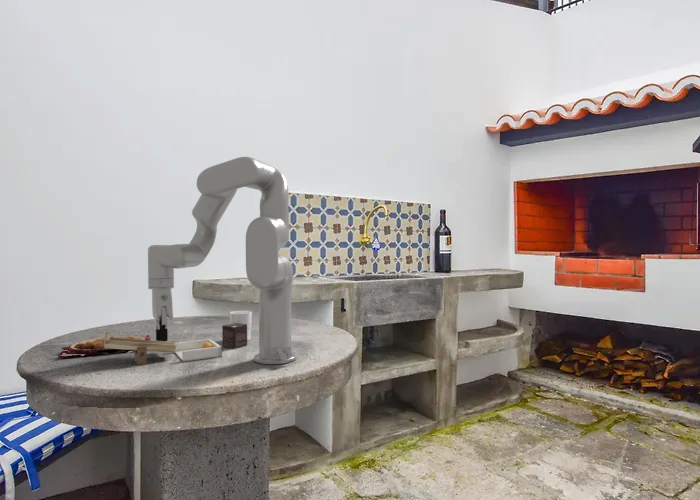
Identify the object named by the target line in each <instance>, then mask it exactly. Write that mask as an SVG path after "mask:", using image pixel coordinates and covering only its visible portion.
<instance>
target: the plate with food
mask: <svg viewBox="0 0 700 500" xmlns="http://www.w3.org/2000/svg"><path fill="white" fill-rule="evenodd" d="M110 337H115V338H128V339H140V340H151V337H150V335H149V334H147V335H146V337H148V338H149V339H147V338H145V336H143V335H142V336H140V335H137V336H136V335H119V336H118V335H117V336H114V335H113V336H112V335H111V336H110ZM104 340H105V337H97V338H93V337H92V338H91V339H86V340H81V341H79V342H74V343H72V344H70V345H68V346H63V347H61V349H62V352H60V354H61V353H66V354H85V355H87V356H91V355H98V354H99V355H101V354H103V355H105V354H107V355H109V353H108V352H105V351H107V350H108V351H109V350H111V351H112V350H113V349H111V348H105V347H104ZM89 349H90V350H89ZM63 350H68V351H69V352H68V351H63ZM99 351H101V352H99ZM126 351H134V350H126V349H117V351H116V352H114V354H116V353H118V354H119V353H121V352H126ZM60 354H58V358H69V357H68V356H61V355H60ZM85 355H84V356H85ZM72 356H73V357H81V355H80V356H79V355H72ZM85 357H86V356H85Z"/></svg>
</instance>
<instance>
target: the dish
mask: <svg viewBox="0 0 700 500" xmlns="http://www.w3.org/2000/svg"><path fill="white" fill-rule="evenodd" d="M206 342H209V343H211V344H212V347H211V348H203V349H202V346H203V344H204V343H206ZM173 345H176V349H175V353H174V354H175V355H176V356H177V358H179V359H180V361H182V362H184V363H185V362H192V361H193V362H194V361H199V360H200V361H201V360H206V359H215V358H220V357H221V358H222V357H223V346H221V345H220V344H218V343H217V342H215V340H213V339H211V338H207V339H196V340H188V341H179V342H173Z"/></svg>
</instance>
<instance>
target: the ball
mask: <svg viewBox="0 0 700 500" xmlns="http://www.w3.org/2000/svg"><path fill="white" fill-rule="evenodd" d="M211 347H212V344H211V343H209V342H206V343H204V344H203V346H202V349H203V348H211Z"/></svg>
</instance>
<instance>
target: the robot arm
mask: <svg viewBox="0 0 700 500" xmlns="http://www.w3.org/2000/svg"><path fill="white" fill-rule="evenodd" d="M196 187H197V190H198V191H199V193H200V196H199V198H198V200H197V202H196V204H195V205H194V207H193V208H192V210H191V215H192V218H194V219H195V222H196V231H195V233H194V235H193V237H192V238H191V240H190V242H189V243H183V244H182V243H180V244H179V243H177V244H151V245H149V247H148V248H147V284H148V287H147V288H148V290H151V292H152V293H151V295H152V296H151V302H152V303H151V307H152V309H151V310H152V311H151V312H152V317H153V318H154V319H155V327H156V329H155V340H156V341H166V342H168V340H169V339H168V336H169V334H168V319H169V320H170V321H171V320H173V319H174V313H173V312H174V310H173V309H174V307H173V294H172V293H173V292H172V289H174V288H175V282H174V281H175V279H174V277H175V275H174V274H175V273H174V269H187V268H196V267H198V266H199V265H201V264H202V263H203V262H204V261H205V259H206V258H207V257H208V255H209V254H210V252H211V250H212V248H213V247H214V244H215V241H216V237H217V232H218V231H217V230H218V229H217V228H218V224H219V222H221V219H222V217H223V215H224V214H225V212H226V210H227V209H228V206H229V205H230V204H231V202H232V201H233V198H234V197H235V195H236V193H237V191H238V189H241V188H249V189H254V190H257V191H260V192H261V196H260V200H259V216H258V217H256V218H254V219H253V220H252V221H250V223H249V225H248V227H247V229H246V232H245V271H246V277H247V280H248V282H249V283H250V284H251V285H252V286H253V287H255V288H257V289H260V290H259V296H258V331H259V332H258V337H259V339H258V345H259V353H256V354H255V355H254V356H253V361H255V363H258V364H261V365H282V364H287V363H291V362H293V361H295V360H297V353H295V352H294V351H292V288H293V281H294V280H293V278H294V268H293V265H292V262H291V261H290V259H288V257H286V256H284V255H282V254H280V253H279V249H282V248H284V247H285V246H286V245H287V244H288V242H289V240H290V239H289V238H290V224H289V223H290V215H289V214H290V213H289V211H290V210H289V186H288V182H287V179H286V177H285V175H284V174H283V173H282V172H281V171H280V170H279V169H278V168H275V167H274V166H272V165H271V164H267V163H266V162H263V161H261V160H258V159H256V158H253V157H250V156H241V157H236V158H233V159H229V160H227V161H224V162H221V163H217V164H214V165H212V166H209V167H207V168H205V169H203V170H202V171H201V172H200V173H199V174H198V177H197V179H196Z"/></svg>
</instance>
